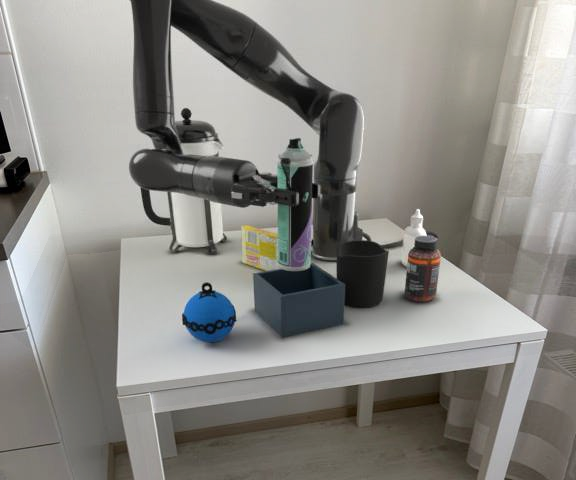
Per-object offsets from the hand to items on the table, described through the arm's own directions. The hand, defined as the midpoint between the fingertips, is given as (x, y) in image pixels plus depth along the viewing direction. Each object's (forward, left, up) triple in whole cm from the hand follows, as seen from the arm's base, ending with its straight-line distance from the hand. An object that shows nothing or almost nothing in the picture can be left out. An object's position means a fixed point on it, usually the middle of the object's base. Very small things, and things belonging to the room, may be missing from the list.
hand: (308, 195), depth 88 cm
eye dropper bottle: (-33, -15, -22) cm, 42 cm away
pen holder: (-13, -4, -22) cm, 26 cm away
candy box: (-4, -26, -22) cm, 34 cm away
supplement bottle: (-24, 0, -22) cm, 32 cm away
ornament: (+18, 0, -22) cm, 28 cm away
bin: (+1, -2, -22) cm, 22 cm away
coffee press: (+6, -49, -22) cm, 54 cm away
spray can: (+1, -2, -12) cm, 12 cm away
